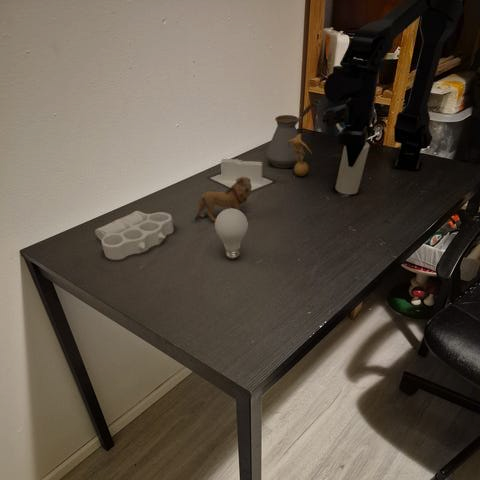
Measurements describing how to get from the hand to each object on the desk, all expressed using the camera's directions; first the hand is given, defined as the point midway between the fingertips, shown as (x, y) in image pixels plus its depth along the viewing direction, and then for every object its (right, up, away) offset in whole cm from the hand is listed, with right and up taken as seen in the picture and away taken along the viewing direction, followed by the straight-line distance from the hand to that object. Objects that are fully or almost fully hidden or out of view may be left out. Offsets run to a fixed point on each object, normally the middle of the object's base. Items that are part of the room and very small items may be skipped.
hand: (353, 162), depth 107 cm
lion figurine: (-32, -15, -3) cm, 36 cm away
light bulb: (-30, -27, -17) cm, 44 cm away
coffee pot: (-12, +10, +23) cm, 28 cm away
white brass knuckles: (-53, -22, -10) cm, 58 cm away
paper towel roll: (+3, -2, 0) cm, 3 cm away
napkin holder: (-28, 0, +13) cm, 31 cm away
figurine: (-12, +1, +13) cm, 18 cm away
